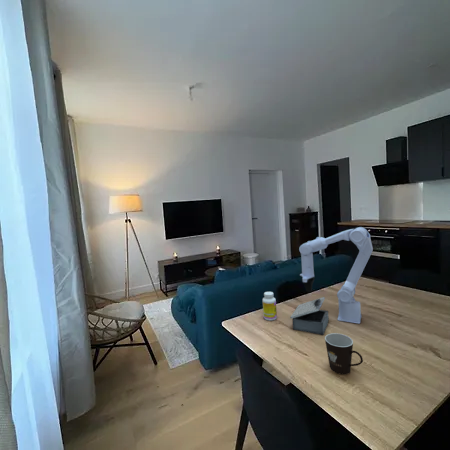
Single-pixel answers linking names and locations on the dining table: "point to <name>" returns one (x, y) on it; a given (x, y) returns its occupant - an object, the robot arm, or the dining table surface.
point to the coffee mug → (340, 353)
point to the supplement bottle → (269, 306)
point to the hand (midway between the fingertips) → (309, 291)
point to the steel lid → (308, 307)
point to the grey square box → (312, 322)
